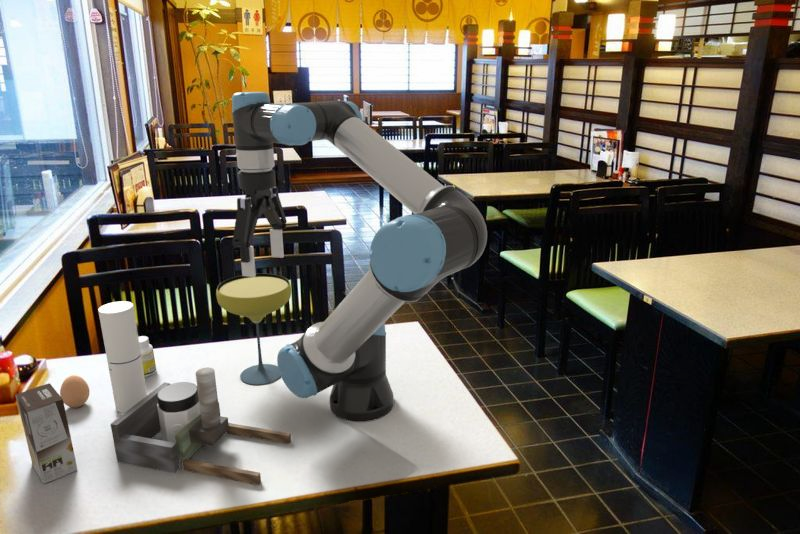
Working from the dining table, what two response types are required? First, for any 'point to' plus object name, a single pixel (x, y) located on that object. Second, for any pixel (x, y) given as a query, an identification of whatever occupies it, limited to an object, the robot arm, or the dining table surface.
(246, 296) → the cocktail glass
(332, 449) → the dining table surface
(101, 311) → the cylindrical container
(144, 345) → the supplement bottle
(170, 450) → the lane
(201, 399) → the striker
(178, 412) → the jar
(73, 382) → the egg
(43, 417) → the coffee box
